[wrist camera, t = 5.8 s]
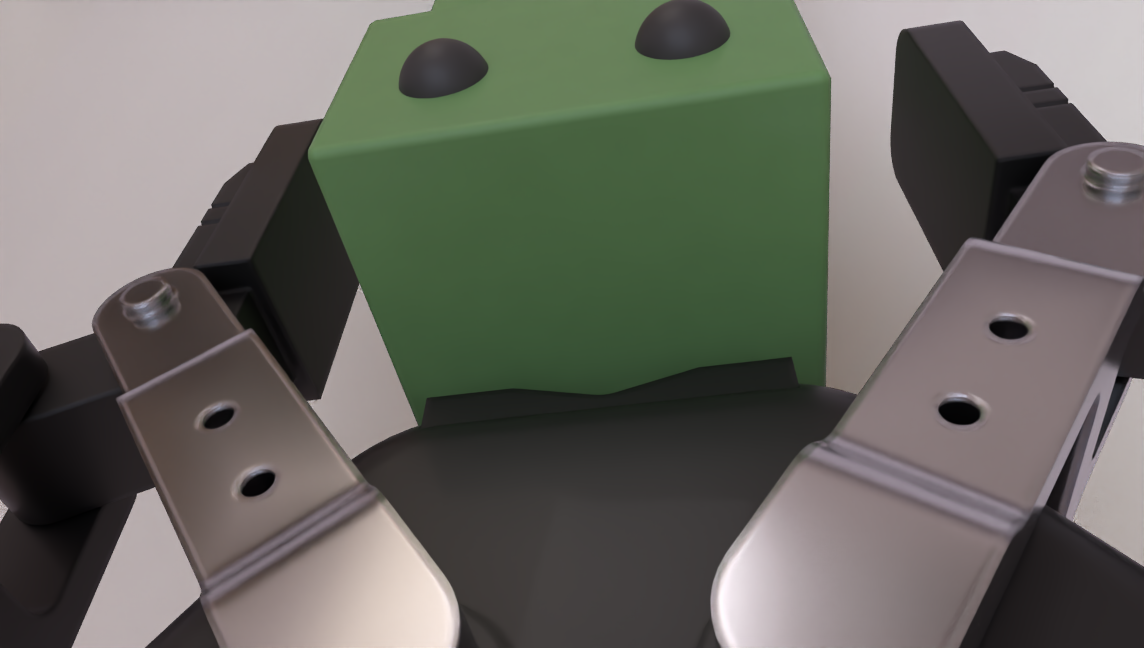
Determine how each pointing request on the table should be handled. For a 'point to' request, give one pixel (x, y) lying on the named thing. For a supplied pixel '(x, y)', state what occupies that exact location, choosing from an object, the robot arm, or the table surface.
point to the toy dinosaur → (584, 191)
